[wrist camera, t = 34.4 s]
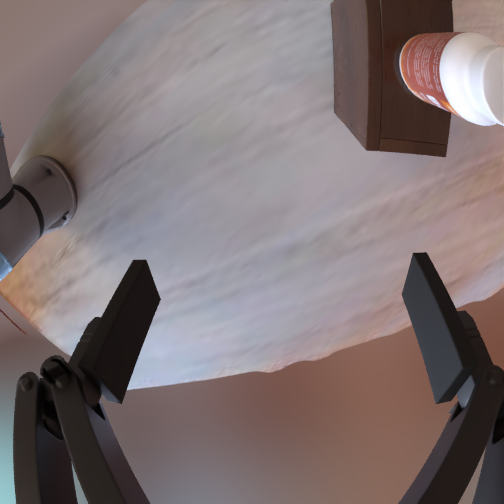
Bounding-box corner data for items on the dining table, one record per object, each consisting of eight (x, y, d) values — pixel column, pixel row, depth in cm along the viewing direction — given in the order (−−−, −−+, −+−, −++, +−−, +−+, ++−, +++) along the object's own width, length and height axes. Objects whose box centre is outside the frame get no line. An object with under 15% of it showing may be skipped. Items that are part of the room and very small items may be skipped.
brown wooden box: (367, 152, 23) (507, 168, 22) (364, -32, 14) (518, 17, 12) (334, 112, 38) (435, 122, 37) (330, 3, 29) (437, 21, 27)
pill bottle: (399, 100, 21) (468, 137, 12) (393, 30, 17) (465, 21, 8) (460, 105, 20) (541, 146, 11) (457, 39, 16) (544, 48, 7)
